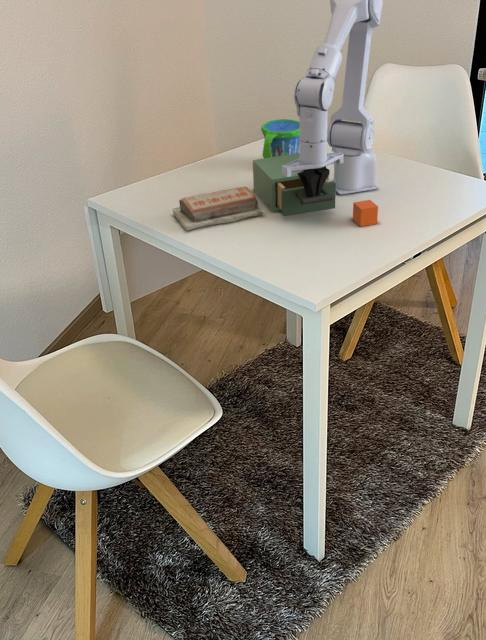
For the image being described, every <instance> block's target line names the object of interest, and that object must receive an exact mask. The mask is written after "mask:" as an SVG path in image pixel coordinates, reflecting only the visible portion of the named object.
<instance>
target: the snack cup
mask: <svg viewBox="0 0 486 640" xmlns="http://www.w3.org/2000/svg"><path fill="white" fill-rule="evenodd" d="M260 130H261V133H262V135H263V138H264V139H263V148H262V159H264V158H270V157H277V156H284V155H291V154H298V153H300V120H295V119H289V118H281V119H279V118H278V119H273V120H269V121H266V122H264V123H263V124H262V125H261V127H260Z"/></svg>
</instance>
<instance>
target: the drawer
mask: <svg viewBox="0 0 486 640" xmlns="http://www.w3.org/2000/svg"><path fill="white" fill-rule="evenodd" d="M275 191H276V204H277V205H278V206H279V208H280V209H281V216H282V217H284V218H285V217H290V216H295V215H296V216H297V215H301V214H302V215H303V214H307V213H315V212H319V211H320V212H321V211H326V210H332V209H336V194H337V192H336V183H335V182H329V181H328V180H327V179H326V181H325V183H324V185H323V187H322V190H321V194H320V196H314V197H308V198H307V197H306V193H305V189H304V186H303V184H302V181H301V179H294V180H288V181H281V182H275Z"/></svg>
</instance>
